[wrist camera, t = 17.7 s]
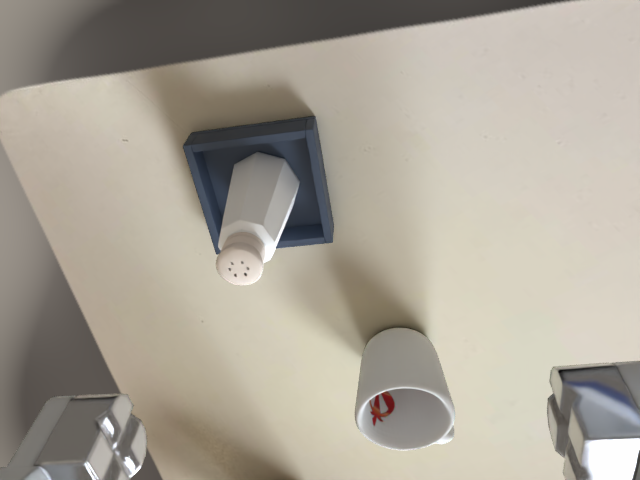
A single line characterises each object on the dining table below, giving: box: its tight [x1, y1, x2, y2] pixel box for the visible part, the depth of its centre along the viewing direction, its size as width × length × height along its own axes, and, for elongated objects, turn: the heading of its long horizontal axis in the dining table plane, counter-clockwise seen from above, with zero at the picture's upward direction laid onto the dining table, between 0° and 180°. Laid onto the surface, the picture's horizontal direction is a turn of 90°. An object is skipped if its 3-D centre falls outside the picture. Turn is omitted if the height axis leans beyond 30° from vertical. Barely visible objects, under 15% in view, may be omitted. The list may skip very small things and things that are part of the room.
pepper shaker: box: [216, 152, 300, 285], centre depth 37 cm, size 5×5×11 cm
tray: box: [183, 116, 334, 254], centre depth 42 cm, size 9×9×2 cm
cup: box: [355, 328, 455, 450], centre depth 48 cm, size 11×8×8 cm
